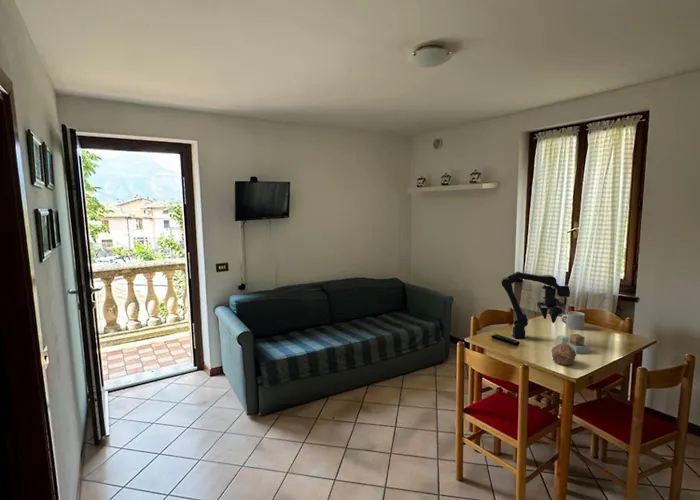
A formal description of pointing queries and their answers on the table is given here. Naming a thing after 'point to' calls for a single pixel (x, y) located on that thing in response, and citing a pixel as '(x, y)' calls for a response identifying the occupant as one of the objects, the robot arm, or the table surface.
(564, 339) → the sage block
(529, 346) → the table surface
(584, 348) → the base block
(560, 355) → the decorative rock
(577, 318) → the coffee mug
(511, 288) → the robot arm
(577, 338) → the walnut cube
